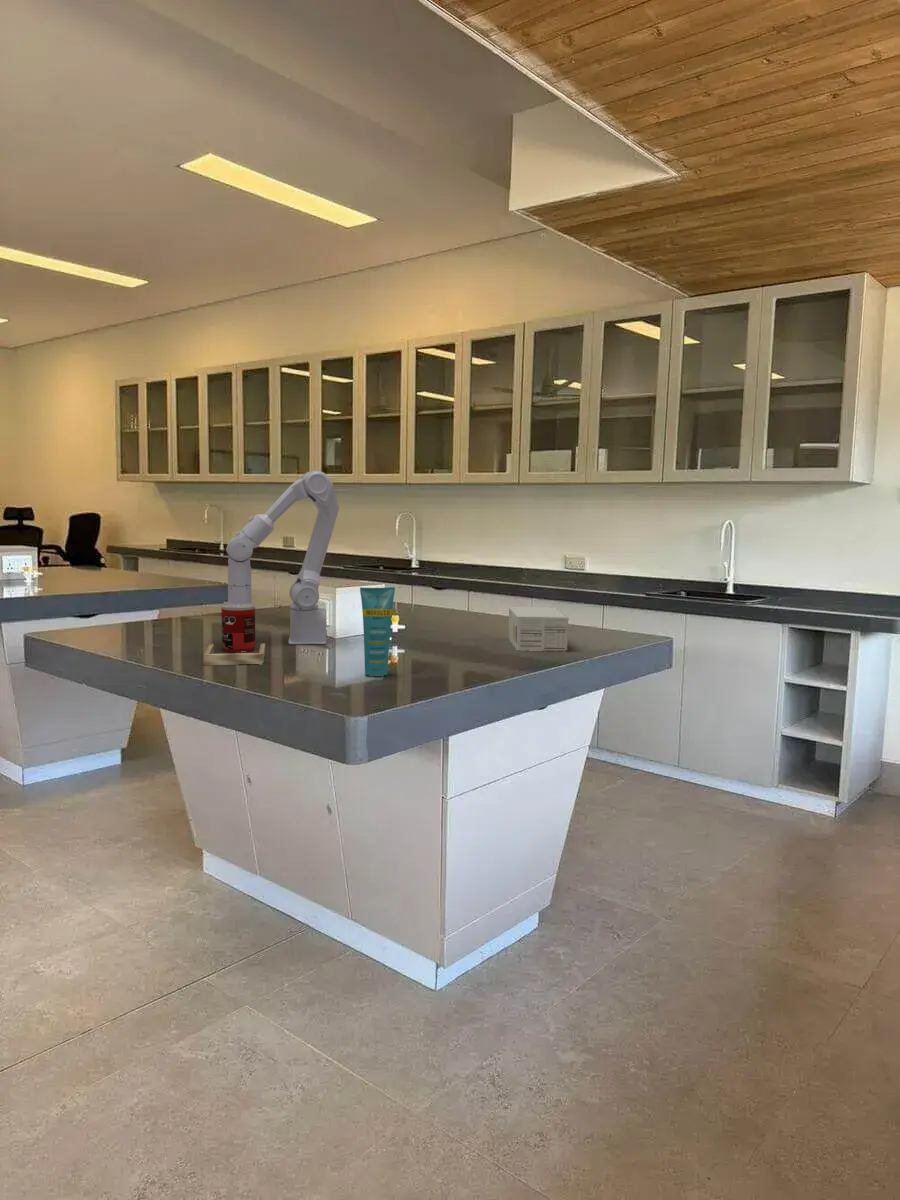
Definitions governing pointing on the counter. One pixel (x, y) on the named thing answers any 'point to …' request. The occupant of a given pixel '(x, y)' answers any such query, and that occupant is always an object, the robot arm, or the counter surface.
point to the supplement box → (538, 628)
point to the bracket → (233, 657)
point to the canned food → (238, 627)
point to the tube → (377, 628)
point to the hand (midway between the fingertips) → (240, 638)
